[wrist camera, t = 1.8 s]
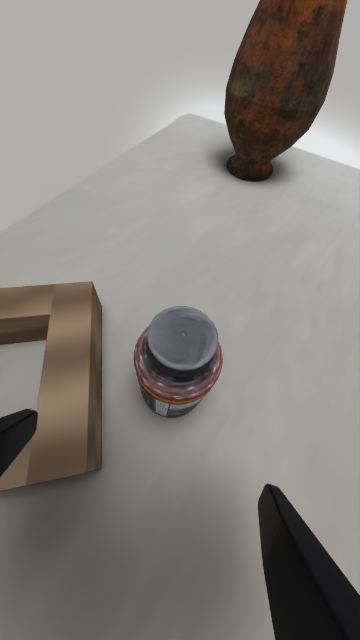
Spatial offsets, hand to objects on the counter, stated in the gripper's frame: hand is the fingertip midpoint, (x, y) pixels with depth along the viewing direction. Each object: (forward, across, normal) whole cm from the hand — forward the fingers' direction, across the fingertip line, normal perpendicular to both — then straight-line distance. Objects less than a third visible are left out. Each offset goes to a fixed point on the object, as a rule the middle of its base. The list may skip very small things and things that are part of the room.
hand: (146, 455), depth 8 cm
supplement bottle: (+13, 0, +5) cm, 14 cm away
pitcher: (+50, -4, -32) cm, 59 cm away
